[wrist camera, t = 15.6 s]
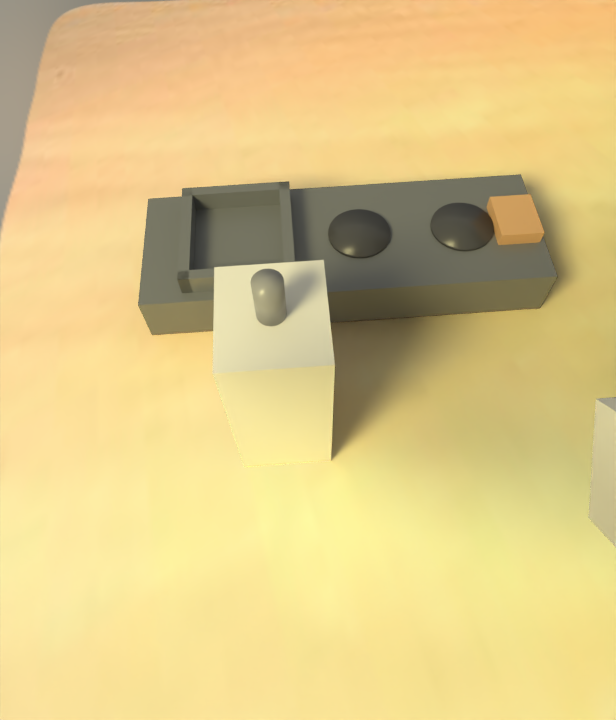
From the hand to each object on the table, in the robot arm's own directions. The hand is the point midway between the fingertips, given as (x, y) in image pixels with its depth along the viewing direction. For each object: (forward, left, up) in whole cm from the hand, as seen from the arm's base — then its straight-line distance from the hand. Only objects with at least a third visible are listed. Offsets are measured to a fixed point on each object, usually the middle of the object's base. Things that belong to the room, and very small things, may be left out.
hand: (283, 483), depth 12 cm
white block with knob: (0, -9, -17) cm, 19 cm away
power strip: (-4, -19, -17) cm, 26 cm away
